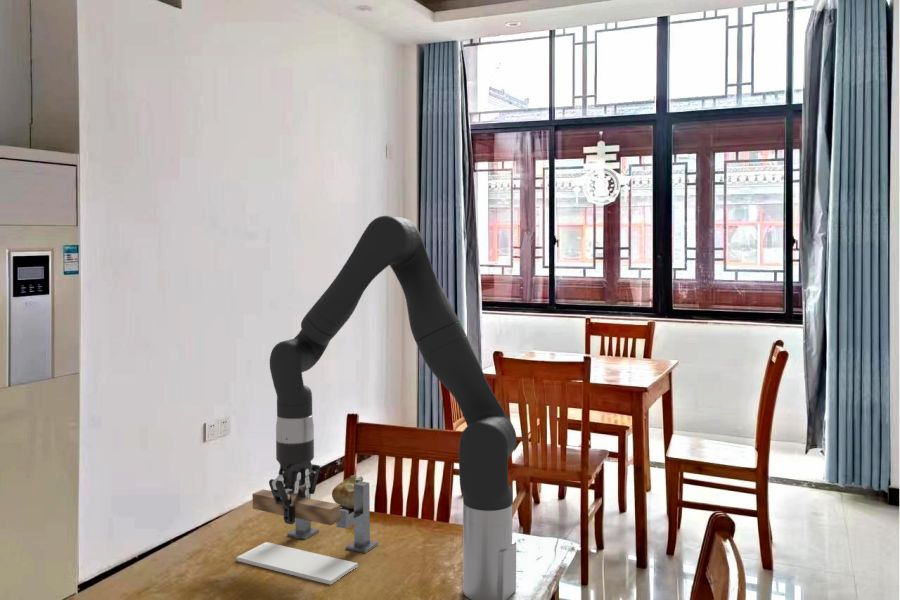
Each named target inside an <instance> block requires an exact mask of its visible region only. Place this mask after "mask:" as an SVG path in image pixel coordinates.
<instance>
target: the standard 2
mask: <svg viewBox="0 0 900 600" xmlns="http://www.w3.org/2000/svg"><path fill="white" fill-rule="evenodd" d="M370 493H371V492H370V482H368V481H367V482H366V481H359V482H357V483H355V484H354V508H353V511H352V512H350V511H349V510H350V509H345V508H340V521H338V522H336V523H335V524H336V528H340V529H345V530H346V529H349V528H350V527H352V526H353V531H354V532H353V534H354V535H353V536H354V539H353V540H354V541H352V542H350V543H349V544H347V545H345V549H346V550H350V551H354V552H359V553H364V554H366V553H368V552H369V551H371V550H372V549H374V548H376V547H377V546H378V545H379V541H375V540H371V532H370V531H371V523H370V521H371V519H370V517H371V515H370V514H371V512H370V509H371V508H370V506H371V505H370V503H371V502H370V498H371V497H370Z"/></svg>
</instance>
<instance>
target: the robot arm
mask: <svg viewBox="0 0 900 600" xmlns="http://www.w3.org/2000/svg"><path fill="white" fill-rule="evenodd" d="M423 240H424V239H423V238H422V236H421V232H420V231H419V228H418V227H417V226H416V224H415V223H413V221H411V220H409V219H408V218H406V217H401V216H395V215H394V216H393V215H382V216H378V217H376V218H374V219H373V220H372V221H370V223H369V224H368V225H367V226H366V228H365V230H364V231H363V233H362V234H361V236H360V238H359V239H358V242H357V243H356V245H355V247H354V248H353V250H352V252H351V254H350V256H349V257H348V259H347V260H346V262H345V263H344V265H342V267H341V270H340V271H339V273H338V274H337V275H336V277H335V278H334V279H333V281H332V283H330V285H329V286H328V287H327V289H325V291H324V292H323V293H322V295H321V296H320V297H319V298H318V300H317V301H316V302H315V303H314V304H313V305H312V307H311V308H310V309H309V310H308V311H307V313H306V314H305V316H304V317H303V318H302V320H301V323H300V328H301V329H300V331H299V332H298V333H297V334H296V336H295V337H294V338H292V339H287V340H282V341H280V342H278V343H277V344H275V346H274V347H273V348H272V350H271V352H270V356H269V369H270V370H269V371H270V375H271V379H272V383H273V387H274V390H275V394H276V424H275V444H276V445H275V449H276V451H275V452H276V453H275V458H276V461H277V462H278V463H279V466H280V467H279V471H278V475H277V477H276V478H274V479H272V478H270V480H269V481H268V485H269V487H270V488H269V489H270V491H272V494H273V497H274V500H275V503H276V504H278V505H283V507H284V516H283V521H284V523H285V524H288V525H293V524H296V518H295V506H294V505H295V497H296V495H297V496H299V497H305V498H309V497H310V498H311V495H313V494H315V492H316V487H317V483H318V480H319V476H320V475H319V474H320V472H321V471H320V469H321V465H318V464H315V463H312V461H313V460H314V457H315V436H314V435H315V434H314V433H315V428H314V427H315V426H314V420H313V419H314V418H313V394H312V393H313V392H312V390H311V388H310V387H309V386H308V385H305V384H304V379H303V373H304V372H307V371H309V370H310V369H311V368H313V367H314V366H315V365H316V364H317V363H318V362H319V360H320V359H321V358H322V356H323V354H324V353H325V351H326V349H327V348H328V345H329V343H330V342H331V340H332V339H333V338H334V337H335V336H336V335H338V333H339V331H340V330H341V329H342V328H343V327H344V325H345V324H346V323H347V322H348V321H349V319H350V318H351V317H352V315H353V313H354V312H355V310H356V308H357V306H358V304H359V302H360V299H361V298H362V296H363V295H364V293H365V290H366V289H367V288H368V287H369V285H370V284H371V282H373V280H374V279H375V278H376V277H377V276H378V275H379V274H380V273H382V272H383V271H384V270H385V269H386V268H387V267H389V266H390V268H391V270H392V272H393V273H394V274H395V277H396V278H397V280H398V283H399V284H400V286H401V289H402V292H403V294H404V297H405V301H406V302H405V303H406V309H407V316H408V321H409V327H410V330H411V334H412V337H413V339H414V341H415V343H416V346H417V347H418V350H419V352H420V353H421V356H422V359H423V361H425V364H426V366H427V368H429V370H430V371H431V372H432V374H433V375H434V376H435V377H436V378H437V379H438V381H439V382H440V383H441V384H442V385H443V386H444V387H445V389H446V390H447V391H448V392H449V393H450V394H451V395H452V397H453V398H454V400H455V402H456V404H457V405H458V407H459V409H460V412H461V413H462V416H463V418H464V421H465V424H466V427H465V428H464V429H463V431H462V432H461V435H460V438H459V442H458V471H459V486H460V490H461V493H462V503H463V504H462V511H463V512H462V539H463V540H462V592H463V594H464V596H465V597H466V598H468V599H470V600H508V599H510V597H511V596H512V595H513V594H514V593H515V592H516V590H517V541H515V540H513V504H514V503H513V502H514V501H513V488H512V487H511V486H510V484H509V463H508V462H509V457H511V456H512V454H513V453H514V451H515V449H516V446H517V433H516V430H515V427H514V425H513V423H512V421H511V420H510V417H509V415H507V413H506V412H505V410H504V408H503V407H502V405H501V403H500V402H499V400H498V398H497V397H496V395H495V394H494V392H493V389H492V388H491V386H490V384H489V382H488V381H487V378H486V376H485V373H484V371H483V369H482V367H481V364H480V362H479V360H478V358H477V356H476V354H475V352H474V350H473V348H472V345H471V343H470V341H469V338H468V336H467V333H466V332H465V329H464V327H463V325H462V323H461V322H460V320H459V318H458V316H457V313H456V312H455V310H454V308H453V306H452V304H451V302H450V300H449V298H448V296H447V294H446V292H445V291H444V288H443V287H442V285H441V283H440V282H439V280H438V277H437V275H436V272H435V271H434V267H433V265H432V263H431V260H430V257H429V254H428V251H427V248H426V246H425V244H424V241H423ZM309 487H310V488H309ZM301 489H302V490H301ZM288 494H289V495H290V500H288ZM280 497H281V498H280Z"/></svg>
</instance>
